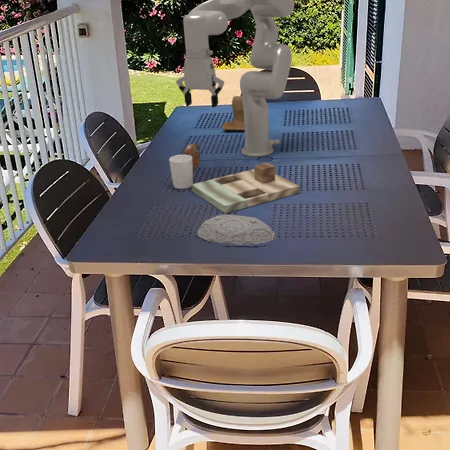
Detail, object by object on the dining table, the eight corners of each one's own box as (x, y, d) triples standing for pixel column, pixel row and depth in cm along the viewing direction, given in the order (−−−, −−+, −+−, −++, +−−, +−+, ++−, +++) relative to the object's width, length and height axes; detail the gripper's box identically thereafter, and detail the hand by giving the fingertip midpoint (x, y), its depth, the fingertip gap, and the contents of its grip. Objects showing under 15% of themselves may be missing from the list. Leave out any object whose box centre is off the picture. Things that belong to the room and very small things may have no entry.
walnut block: (267, 176, 206) (266, 162, 204) (275, 180, 202) (274, 166, 200) (254, 179, 204) (254, 165, 202) (262, 183, 200) (262, 169, 198)
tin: (191, 174, 219) (189, 152, 216) (182, 174, 220) (180, 152, 216) (201, 161, 233) (199, 140, 229) (193, 161, 233) (191, 140, 230)
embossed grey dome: (205, 219, 182) (203, 199, 178) (285, 231, 174) (285, 211, 171) (185, 246, 170) (183, 225, 166) (270, 260, 162) (270, 239, 158)
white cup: (177, 191, 205) (174, 163, 201) (168, 184, 211) (165, 157, 207) (198, 186, 208) (195, 159, 204) (188, 179, 214) (186, 153, 210)
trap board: (261, 173, 216) (261, 167, 215) (299, 192, 197) (299, 185, 196) (192, 191, 204) (191, 184, 203) (225, 213, 185) (224, 206, 184)
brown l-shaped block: (259, 125, 274) (258, 92, 268) (255, 133, 263) (254, 99, 257) (226, 125, 277) (224, 93, 271) (222, 133, 266) (220, 99, 260)
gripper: (226, 52, 196) (229, 104, 203) (179, 51, 203) (184, 102, 210) (217, 56, 190) (220, 109, 197) (169, 55, 196) (174, 107, 204)
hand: (201, 105), depth 203 cm, fingers open, 9 cm apart
